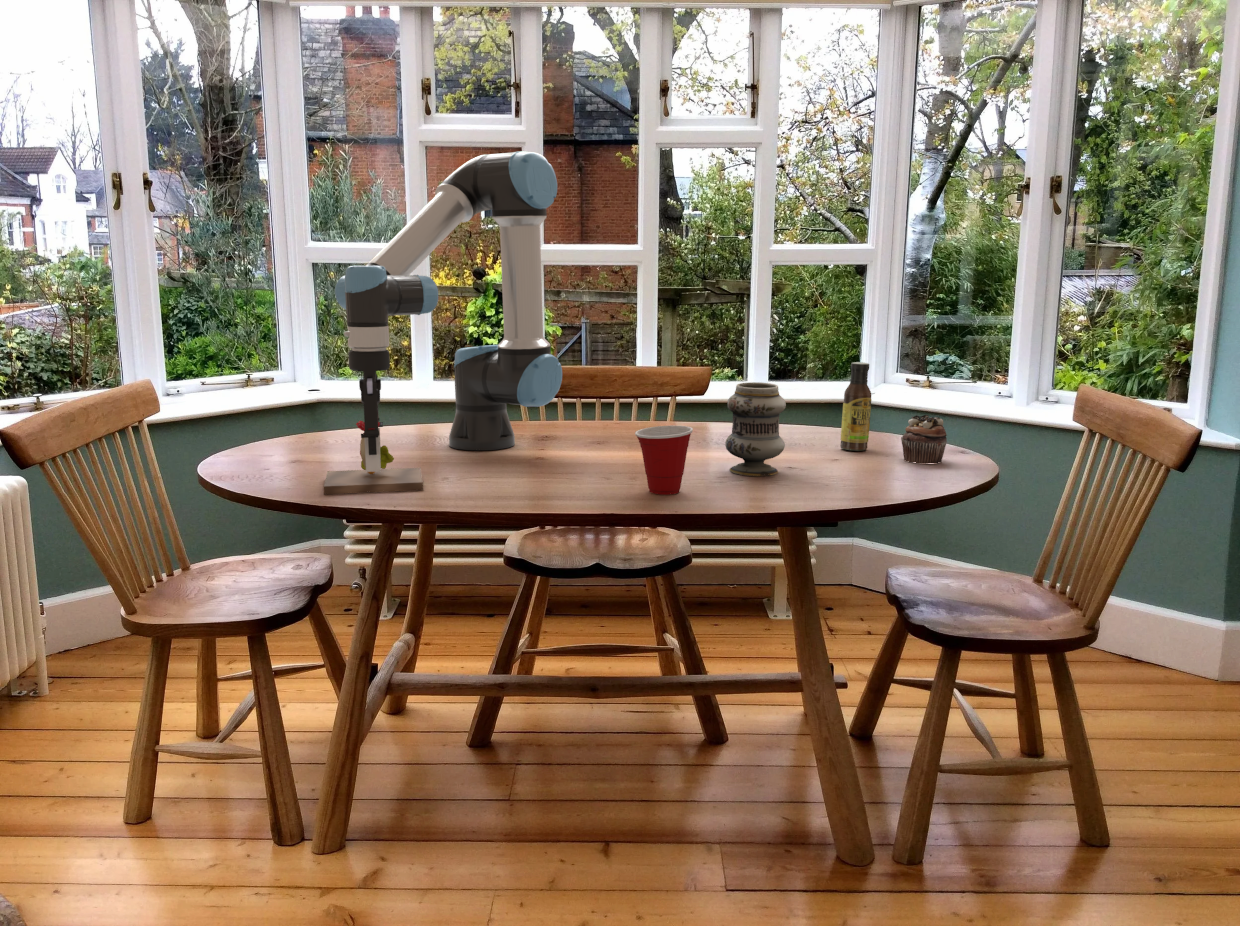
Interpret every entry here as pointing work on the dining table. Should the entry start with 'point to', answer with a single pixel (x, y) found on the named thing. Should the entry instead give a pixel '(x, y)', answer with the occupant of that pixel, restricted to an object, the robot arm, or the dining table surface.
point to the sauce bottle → (856, 410)
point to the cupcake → (924, 440)
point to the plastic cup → (664, 456)
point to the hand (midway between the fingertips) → (373, 465)
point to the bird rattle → (384, 453)
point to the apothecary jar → (755, 427)
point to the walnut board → (373, 481)
